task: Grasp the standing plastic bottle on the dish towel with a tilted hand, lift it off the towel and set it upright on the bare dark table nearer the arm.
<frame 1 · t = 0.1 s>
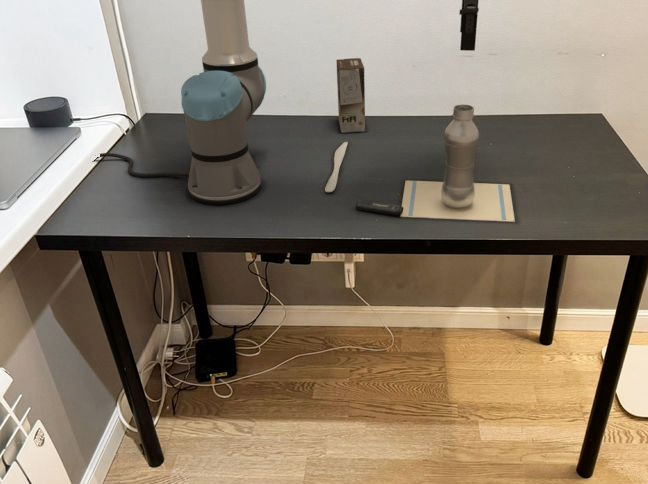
hand: (467, 40, 128), 28 cm above the table, tool pointing down, fingers open, 13 cm apart
usb stick: (379, 211, 129), on the table, touching dish towel
plastic bottle: (456, 205, 130), resting on dish towel
coffee box: (351, 126, 167), on the table
butter knife: (336, 166, 147), on the table
dish towel: (456, 200, 132), on the table
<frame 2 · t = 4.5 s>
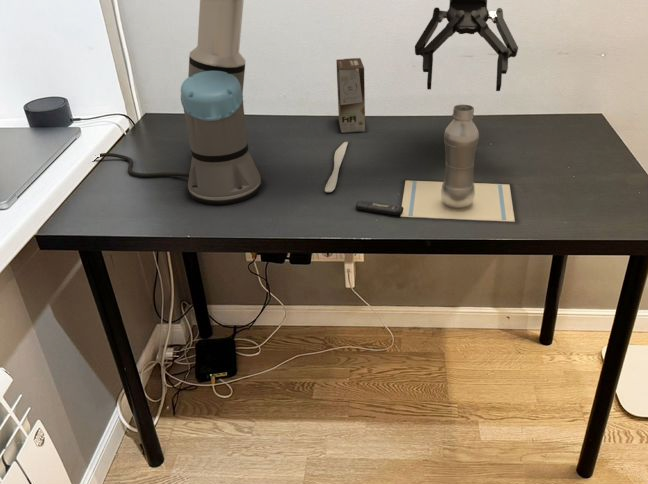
hand: (463, 87, 128), 20 cm above the table, tool tilted 45°, fingers open, 13 cm apart
nothing on the table moved.
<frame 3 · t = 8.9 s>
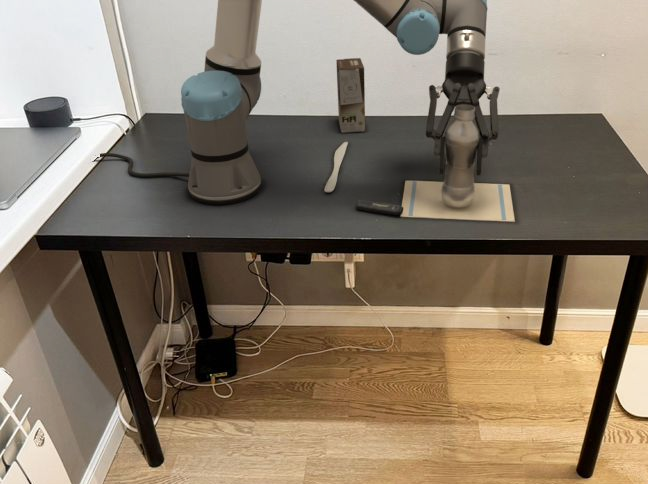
hand: (459, 172, 122), 9 cm above the table, tool tilted 45°, fingers closed on plastic bottle, 6 cm apart
plastic bottle: (456, 204, 130), resting on dish towel, touching gripper
everything else where it was.
when the fingers open (9 cm above the table, at t = 20.2 s): plastic bottle stays where it is, on the table.
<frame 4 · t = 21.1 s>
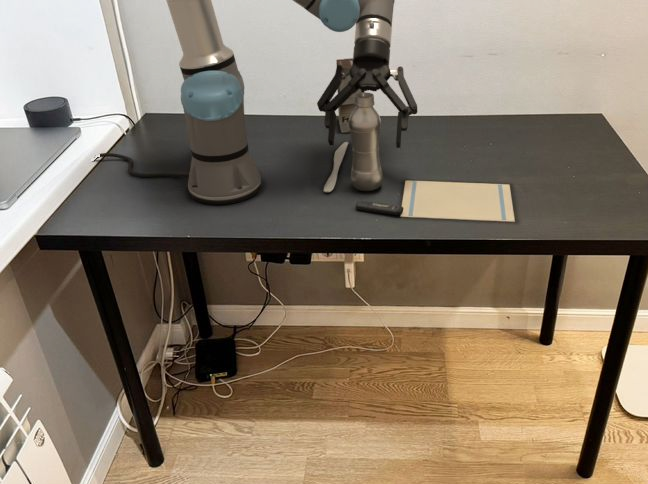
hand: (364, 144, 130), 11 cm above the table, tool tilted 45°, fingers open, 13 cm apart
plastic bottle: (366, 188, 138), on the table
everything else where it was.
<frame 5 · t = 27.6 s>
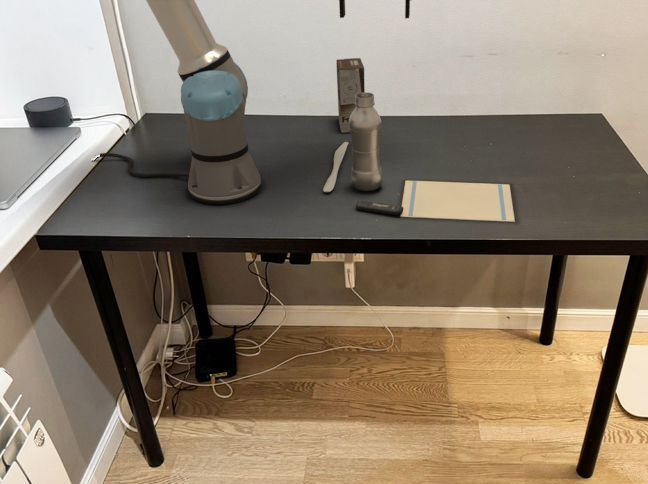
hand: (374, 16, 135), 31 cm above the table, tool pointing down, fingers open, 13 cm apart
nothing on the table moved.
at the end: plastic bottle inside the target area (0.1 cm from its centre), on the table; plastic bottle touching table; plastic bottle tilted 1° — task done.
